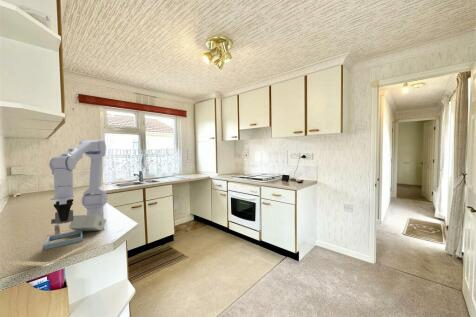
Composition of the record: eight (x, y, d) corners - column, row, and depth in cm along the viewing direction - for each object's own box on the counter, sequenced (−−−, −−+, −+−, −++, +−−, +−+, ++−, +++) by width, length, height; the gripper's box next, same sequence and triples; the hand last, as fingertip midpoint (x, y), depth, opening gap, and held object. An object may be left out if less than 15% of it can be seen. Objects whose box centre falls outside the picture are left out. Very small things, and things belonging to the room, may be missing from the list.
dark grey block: (52, 222, 79) (51, 212, 79) (73, 218, 83) (73, 209, 83) (50, 225, 75) (50, 215, 75) (73, 221, 79) (72, 211, 79)
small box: (97, 214, 88) (73, 215, 87) (93, 227, 85) (67, 228, 84) (106, 219, 95) (83, 220, 94) (103, 231, 92) (79, 232, 91)
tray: (48, 242, 80) (48, 236, 80) (82, 235, 87) (82, 229, 87) (44, 252, 72) (44, 245, 72) (82, 243, 79) (82, 237, 79)
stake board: (47, 236, 87) (47, 222, 87) (76, 230, 93) (76, 217, 93) (45, 242, 80) (44, 228, 80) (76, 236, 86) (76, 222, 86)
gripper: (52, 185, 83) (53, 217, 83) (47, 188, 71) (48, 226, 71) (73, 183, 87) (74, 213, 87) (73, 186, 76) (74, 221, 76)
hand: (64, 219), depth 79 cm, fingers closed on dark grey block, 5 cm apart
